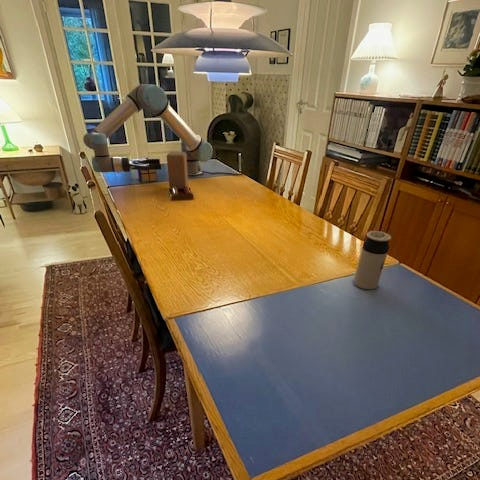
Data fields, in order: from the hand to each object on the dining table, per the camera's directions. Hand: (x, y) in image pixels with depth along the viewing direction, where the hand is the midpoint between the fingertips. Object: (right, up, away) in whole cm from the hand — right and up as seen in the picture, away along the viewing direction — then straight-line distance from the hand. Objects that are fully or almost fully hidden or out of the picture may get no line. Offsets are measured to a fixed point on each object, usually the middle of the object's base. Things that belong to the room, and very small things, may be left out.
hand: (160, 164), depth 197 cm
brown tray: (+12, -19, 0) cm, 22 cm away
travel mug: (+90, -78, -77) cm, 141 cm away
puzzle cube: (-14, +2, +27) cm, 30 cm away
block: (+9, -11, +11) cm, 18 cm away
